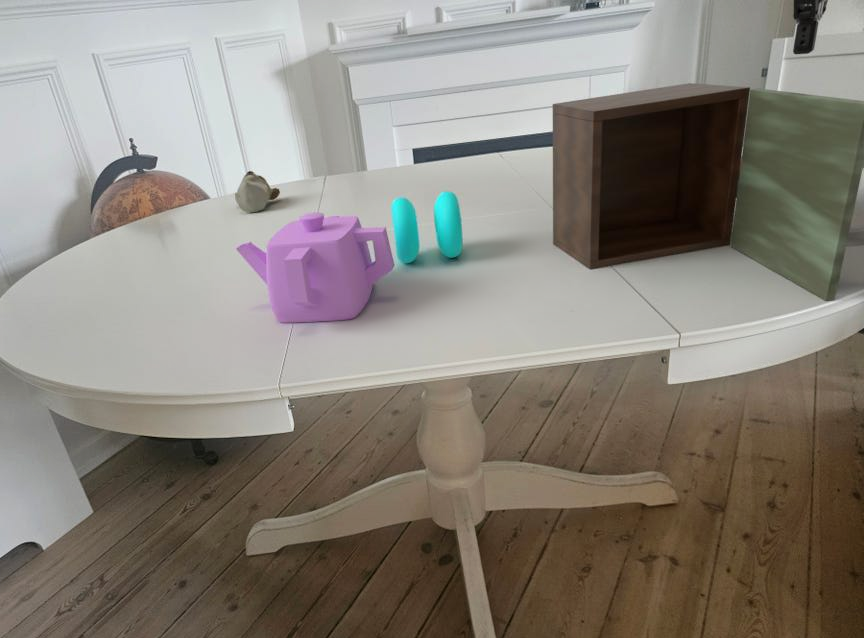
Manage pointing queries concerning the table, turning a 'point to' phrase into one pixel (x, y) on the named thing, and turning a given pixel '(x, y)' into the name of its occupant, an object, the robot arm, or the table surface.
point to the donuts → (445, 227)
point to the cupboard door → (800, 186)
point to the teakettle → (320, 267)
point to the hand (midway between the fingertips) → (803, 53)
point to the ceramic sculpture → (254, 193)
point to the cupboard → (647, 172)
